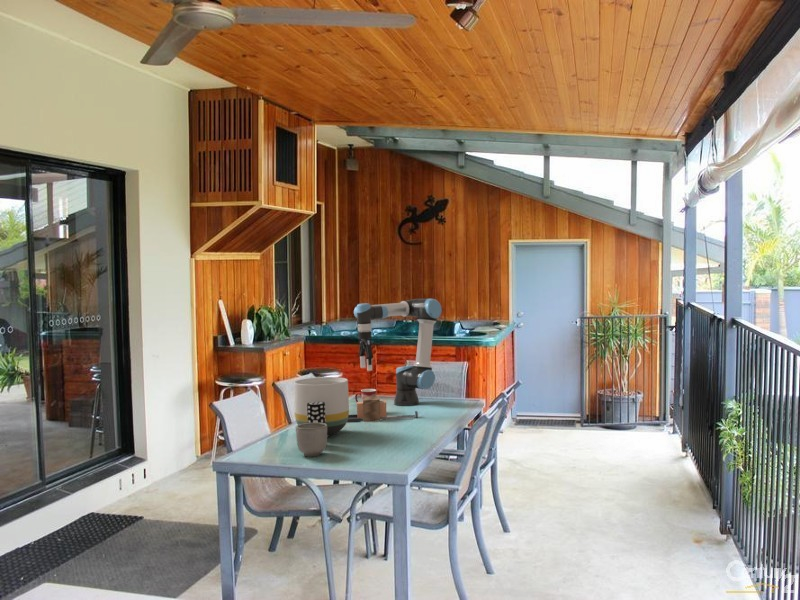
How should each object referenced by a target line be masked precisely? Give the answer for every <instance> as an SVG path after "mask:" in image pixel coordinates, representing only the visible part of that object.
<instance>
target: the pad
mask: <svg viewBox="0 0 800 600" xmlns="http://www.w3.org/2000/svg"><path fill="white" fill-rule="evenodd" d="M400 420H402V421H403V420H414V418H395V419H381V421H400Z"/></svg>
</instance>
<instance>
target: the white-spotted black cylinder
mask: <svg viewBox="0 0 800 600" xmlns="http://www.w3.org/2000/svg"><path fill="white" fill-rule="evenodd" d="M307 420H308V423H325V424H326V419H325V402H309V403H307Z"/></svg>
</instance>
